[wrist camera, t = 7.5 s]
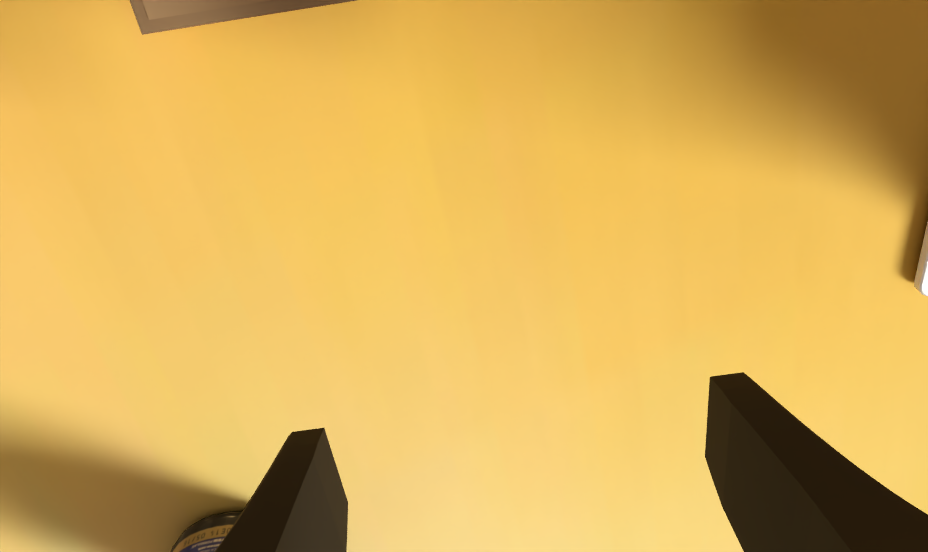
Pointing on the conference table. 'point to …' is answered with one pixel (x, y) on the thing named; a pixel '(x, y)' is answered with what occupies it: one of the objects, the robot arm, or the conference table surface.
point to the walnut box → (210, 11)
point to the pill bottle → (206, 533)
